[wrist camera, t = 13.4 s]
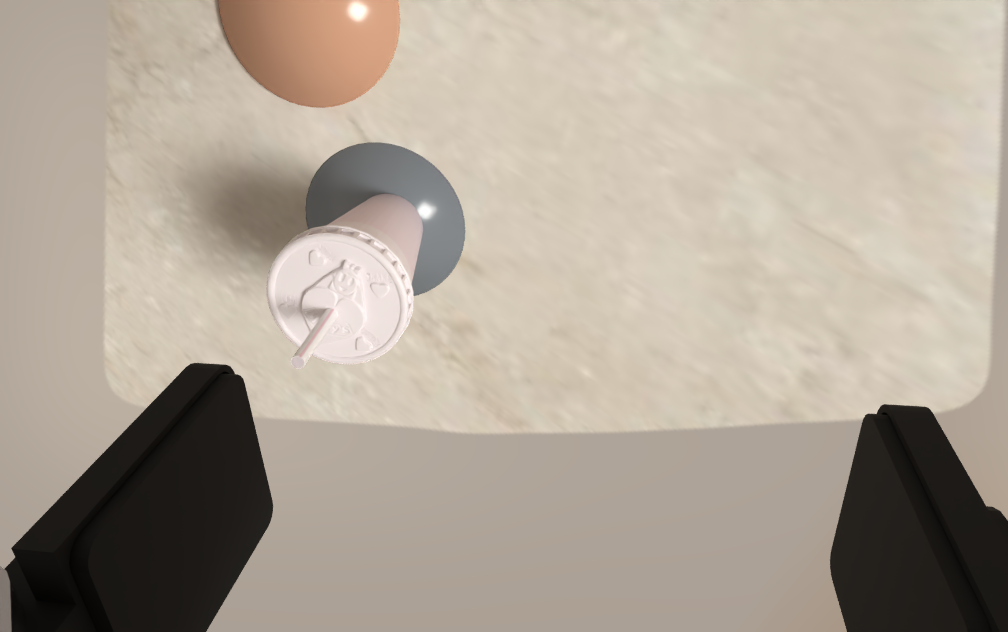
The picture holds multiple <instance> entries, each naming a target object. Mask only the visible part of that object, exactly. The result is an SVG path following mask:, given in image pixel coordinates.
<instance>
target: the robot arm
mask: <svg viewBox="0 0 1008 632" xmlns="http://www.w3.org/2000/svg"><path fill="white" fill-rule="evenodd" d="M272 512H273V503H272V497H271V493H270V489H269V485H268V480H267V476H266V472H265V468H264V463H263V459H262V455H261V451H260V447H259V443H258V438H257V434H256V430H255V425H254V422H253V417H252V413H251V408H250V404H249V400H248V396H247V391H246V387H245V383H244V380H243V378H242V377H241V376H240V375H236V374H235V373H234V371H233V369H232V368H231V367H230V366H228V365H220V364H203V363H193V364H190V365H189V366H187V367H186V368H185V369H184V370H183V371H182V372H181V373H180V374H179V375H178V376H177V377H176V378H175V379H174V380H173V381H172V382H171V383H170V385H169V386H168V387H167V388H166V389H165V390H164V391H163V392H162V393H161V394H160V395H159V396H158V397H157V398H156V399H155V400H154V401H153V402H152V403H151V404H150V405H149V406H148V407H147V408H146V409H145V410H144V412H143V413H142V414H141V415H140V416H139V417H138V418H137V419H136V420H135V421H134V422H133V423H132V424H131V425H130V426H129V427H128V428H127V429H126V430H125V431H124V432H123V433H122V434H121V435H120V436H119V437H118V438H117V439H116V440H115V442H114V443H113V444H112V445H111V446H110V447H109V448H108V449H107V450H106V451H105V452H104V453H103V454H102V455H101V456H100V457H99V458H98V459H97V460H96V461H95V462H94V463H93V464H92V465H91V466H90V467H89V468H88V470H86V472H85V473H84V474H83V475H82V476H81V477H80V478H79V479H78V480H77V481H76V482H75V483H74V484H73V485H72V486H71V487H70V488H69V489H68V490H67V491H66V492H65V493H64V494H63V496H61V497H60V498H59V500H57V502H56V503H55V504H54V505H53V506H52V507H51V508H50V509H49V510H48V511H47V512H46V513H45V514H44V515H43V516H42V517H41V518H40V519H39V520H38V521H37V522H36V523H35V524H34V525H33V526H32V527H31V529H29V531H28V532H27V533H26V534H25V535H24V536H23V537H22V538H21V539H20V540H19V541H18V542H17V543H16V544H15V545H14V546H13V547H12V551H13V553H14V555H15V558H14V560H13V561H12V562H11V563H10V564H9V565H8V566H7V567H6V568H5V569H3V568H2V567H0V632H206V631H207V629H208V627H209V626H210V624H211V622H212V621H213V619H214V617H215V616H216V614H217V612H218V610H219V609H220V607H221V606H222V604H223V602H224V600H225V599H226V597H227V595H228V594H229V592H230V590H231V589H232V587H233V585H234V583H235V582H236V580H237V578H238V577H239V575H240V573H241V572H242V570H243V568H244V566H245V565H246V563H247V561H248V560H249V558H250V556H251V555H252V553H253V551H254V550H255V548H256V546H257V544H258V543H259V541H260V539H261V538H262V536H263V534H264V533H265V531H266V529H267V528H268V526H269V523H270V521H271V517H272ZM830 569H831V576H832V580H833V584H834V587H835V591H836V594H837V598H838V601H839V605H840V608H841V612H842V615H843V619H844V622H845V626H846V629H847V632H1008V521H1007V519H1006V518H1005V517H1004V516H1003V514H1002V513H1001V512H1000V511H999V510H997V509H995V508H994V507H986V505H985V504H984V502H983V500H982V498H981V497H980V495H979V493H978V491H977V490H976V488H975V486H974V485H973V483H972V481H971V479H970V477H969V476H968V474H967V472H966V470H965V469H964V467H963V465H962V463H961V462H960V460H959V458H958V456H957V455H956V453H955V451H954V450H953V448H952V446H951V444H950V442H949V441H948V439H947V437H946V435H945V434H944V432H943V430H942V428H941V427H940V425H939V423H938V422H937V420H936V418H935V416H934V414H933V413H932V412H931V410H930V409H929V408H927V407H920V406H903V405H886V404H884V405H882V406H881V407H880V408H879V410H878V412H877V414H867V415H865V417H864V419H863V422H862V426H861V430H860V434H859V438H858V442H857V447H856V451H855V455H854V459H853V463H852V468H851V471H850V476H849V480H848V484H847V488H846V492H845V496H844V500H843V504H842V509H841V513H840V517H839V521H838V525H837V529H836V533H835V537H834V542H833V546H832V550H831V557H830Z"/></svg>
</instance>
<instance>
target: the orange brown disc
mask: <svg viewBox="0 0 1008 632" xmlns="http://www.w3.org/2000/svg"><path fill="white" fill-rule="evenodd" d="M219 9H220V15H221V20H222V23H223V27H224V30H225V33H226V35H227V38H228V41H229V43H230V45H231V47H232V49H233V51H234V52H235V54H236V56H237V57H238V59H239V60H240V62H241V63H242V65H243V66H244V67H245V68H246V70H247V71H248V72H249V73H250V74H251V75H252V76H253V77H254V78H255V79H256V80H257V81H258V82H259V83H260V84H261V85H263V86H264V87H265V88H266V89H268V90H269V91H271V92H272V93H274V94H275V95H277V96H279V97H281V98H283V99H285V100H287V101H289V102H292V103H296V104H299V105H303V106H308V107H322V108H323V107H333V106H337V105H341V104H345V103H347V102H350V101H352V100H354V99H356V98H358V97H359V96H361V95H362V94H364V93H366V92H367V91H368V90H369V89H371V88H372V87H373V86H374V85H375V84H376V83H377V82H378V81H379V80H380V79H381V77H382V76H383V75H384V73H385V72H386V70H387V69H388V67H389V65H390V63H391V61H392V58H393V56H394V53H395V50H396V47H397V43H398V37H399V29H400V11H399V3H398V0H219Z"/></svg>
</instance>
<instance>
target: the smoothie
mask: <svg viewBox="0 0 1008 632" xmlns="http://www.w3.org/2000/svg"><path fill="white" fill-rule="evenodd" d="M422 234H423V225H422V220H421V217H420V215H419V213H418V211H417V210H416V208H415V207H414V206H413V205H412V204H411V203H410V202H409V201H407V200H406V199H404V198H402V197H400V196H397V195H393V194H379V195H376V196H373V197H371V198H369V199H368V200H366V201H365V202H363V203H361V204H360V205H358V206H357V207H355V208H353V209H352V210H350V211H349V212H347V213H345V214H344V215H342V216H341V217H339V218H337V219H336V220H334V221H333V222H331V223H329V224H328V225H326V226H320V227H314V228H311V229H309V230H307V231H304V232H302V233H300V234H298V235H296V236H295V237H294V238H293V239H292V240H291V241H290V242H289V243H287V244H286V245H285V246H284V247H283V249H282V251H281V253H280V254H279V255H278V256H277V257H276V259H275V261H274V262H273V264H272V266H271V268H270V271H269V275H268V279H267V299H268V304H269V308H270V311H271V313H272V316H273V318H274V320H275V322H276V323H277V325H278V327H279V328H280V329H281V331H282V332H283V333H284V334H285V336H286V337H287V338H288V339H289V340H290V341H291V342H292V343H294V344H295V345H296V346H297V347H299V349H298V350H297V352H296V353H295V355H294V356H293V357H292V359H291V364H292V365H293V366H294V367H295V368H298V369H300V368H303V367H304V366H305V364H306V363H307V361H308V360H309V358H310V357H311V355H312V356H314V357H316V358H319V359H321V360H324V361H328V362H332V363H338V364H358V363H364V362H368V361H371V360H373V359H376V358H378V357H380V356H382V355H383V354H385V353H386V352H388V351H389V350H390V349H391V348H392V347H393V346H394V345H395V344H396V343H397V341H398V340H399V339H400V337H401V335H402V334H403V332H404V331H405V329H406V328H407V326H408V325H409V322H410V318H411V315H412V312H413V293H414V292H413V288H412V280H413V276H414V271H415V266H416V262H417V257H418V252H419V248H420V243H421V239H422Z"/></svg>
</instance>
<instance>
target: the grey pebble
mask: <svg viewBox="0 0 1008 632" xmlns="http://www.w3.org/2000/svg"><path fill="white" fill-rule="evenodd" d="M379 194H393V195H397V196H400V197H402V198H404V199H406V200H407V201H409V202H410V203H411V204H412V205H413V206H414V207H415V208H416V210H417V211H418V213H419V215H420V217H421V220H422V225H423V234H422V239H421V243H420V248H419V252H418V257H417V262H416V266H415V271H414V276H413V280H412V288H413V292H414V293H413V296H416V295H419V294H422V293H425V292H427V291H429V290H431V289H433V288H435V287H436V286H437V285H439V284H440V283H441V282H443V281H444V280H445V279H446V278H447V277H448V276H449V275H450V273H451V272H452V271H453V269H454V268H455V266H456V264H457V262H458V260H459V258H460V256H461V253H462V250H463V245H464V240H465V221H464V216H463V211H462V208H461V205H460V202H459V199H458V197H457V195H456V193H455V191H454V189H453V188H452V186H451V185H450V183H449V182H448V180H447V179H446V178H445V177H444V175H443V174H442V173H441V172H440V171H439V170H438V169H437V168H436V167H435V166H434V165H433V164H432V163H430V162H429V161H427V160H426V159H425V158H423V157H422V156H420V155H418V154H416V153H414V152H413V151H410V150H408V149H405V148H403V147H400V146H396V145H392V144H386V143H364V144H358V145H355V146H351V147H348V148H346V149H344V150H342V151H340V152H338V153H336V154H335V155H333V156H332V157H331V158H329V159H328V160H327V161H326V162H325V163H324V164H323V165H322V166H321V168H320V169H319V170H318V171H317V173H316V175H315V177H314V178H313V180H312V182H311V185H310V188H309V191H308V195H307V201H306V219H307V225H308V230H309V229H311V228H314V227H320V226H326V225H328V224H329V223H331V222H333V221H334V220H336V219H337V218H339V217H341V216H342V215H344V214H345V213H347V212H349V211H350V210H352V209H353V208H355V207H357V206H358V205H360V204H361V203H363V202H365V201H366V200H368V199H369V198H371V197H373V196H376V195H379Z"/></svg>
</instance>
